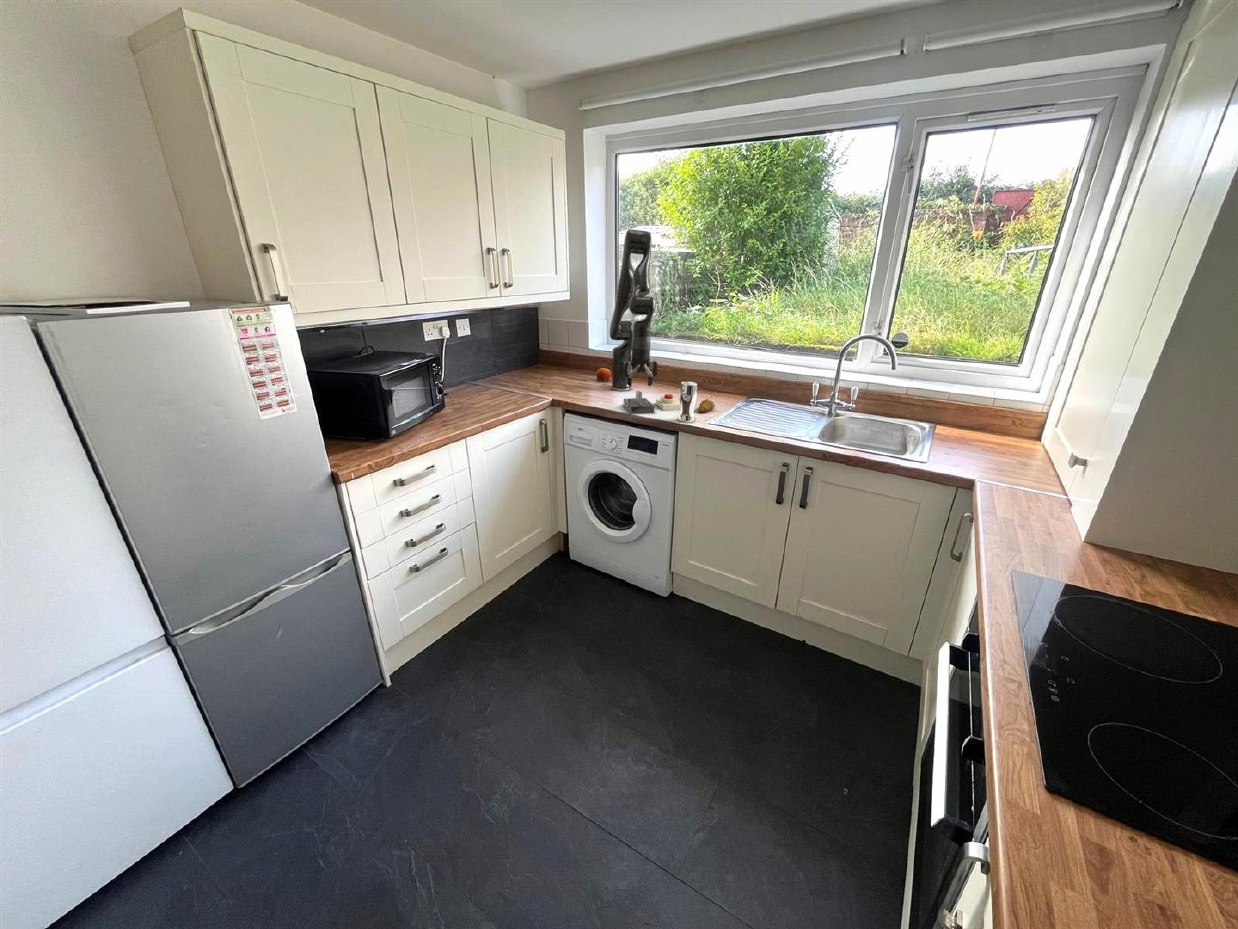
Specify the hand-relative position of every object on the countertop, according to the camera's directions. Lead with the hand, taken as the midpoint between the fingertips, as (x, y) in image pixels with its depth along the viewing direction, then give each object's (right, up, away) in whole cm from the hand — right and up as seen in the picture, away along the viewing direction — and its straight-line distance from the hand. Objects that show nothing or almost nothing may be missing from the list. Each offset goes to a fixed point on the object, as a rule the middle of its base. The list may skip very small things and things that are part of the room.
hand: (639, 386), depth 211 cm
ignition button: (+13, -4, +7) cm, 15 cm away
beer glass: (+18, -16, -10) cm, 26 cm away
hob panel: (0, -9, +4) cm, 10 cm away
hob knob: (0, -6, +3) cm, 7 cm away
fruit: (-17, +11, +56) cm, 59 cm away
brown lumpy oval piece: (+29, -10, +5) cm, 31 cm away
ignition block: (+13, -8, +9) cm, 17 cm away
